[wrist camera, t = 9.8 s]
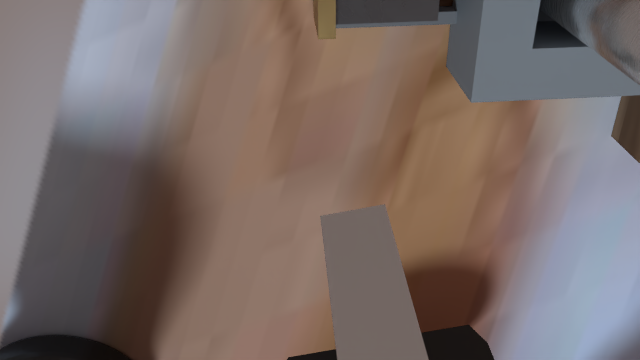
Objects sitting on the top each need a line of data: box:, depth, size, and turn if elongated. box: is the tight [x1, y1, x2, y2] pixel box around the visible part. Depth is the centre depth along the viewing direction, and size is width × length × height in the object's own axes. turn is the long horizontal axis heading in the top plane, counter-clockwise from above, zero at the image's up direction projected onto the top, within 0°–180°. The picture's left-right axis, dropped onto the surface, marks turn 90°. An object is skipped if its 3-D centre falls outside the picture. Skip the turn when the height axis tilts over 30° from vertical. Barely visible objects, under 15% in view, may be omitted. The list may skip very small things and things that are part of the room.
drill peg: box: [539, 0, 640, 85], centre depth 31 cm, size 4×4×18 cm
